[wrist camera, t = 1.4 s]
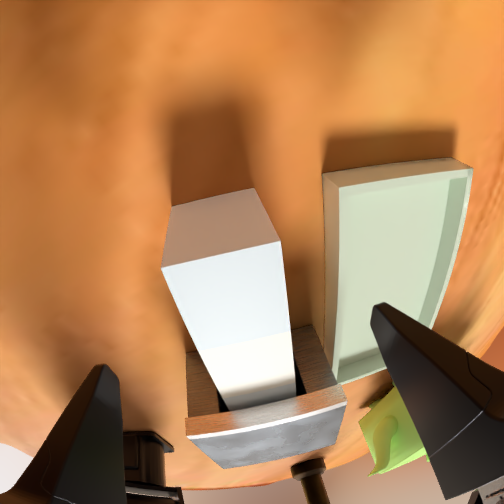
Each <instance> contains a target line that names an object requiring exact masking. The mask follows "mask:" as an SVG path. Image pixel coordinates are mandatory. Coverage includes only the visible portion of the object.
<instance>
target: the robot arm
mask: <svg viewBox="0 0 504 504" xmlns="http://www.w3.org/2000/svg"><path fill="white" fill-rule="evenodd" d="M370 326H371V329H372V332H373V334H374V337H375V339H376V342H377V345H378V347H379V350H380V352H381V355H382V358H383V360H384V363H385V365H386V367H387V370H388V372H389V374H390V376H391V378H392V380H393V382H394V384H395V386H396V388H397V390H398V392H399V394H400V396H401V398H402V400H403V402H404V404H405V406H406V408H407V410H408V412H409V415H410V417H411V419H412V421H413V423H414V425H415V428H416V430H417V432H418V434H419V437H420V439H421V441H422V443H423V446H424V448H425V450H426V453H427V455H428V457H429V460H430V462H431V465H432V467H433V470H434V472H435V475H436V477H437V479H438V482H439V485H440V487H441V490H442V492H443V495H444V498H445V500H448V499H451V498H454V497H456V496H459V495H461V494H464V493H467V492H469V491H472V490H474V489H476V488H478V489H476V490H475V491H474V492H472V494H471V497H470V499H469V502H468V504H504V372H503V371H501V370H499V369H497V368H495V367H493V366H491V365H489V364H487V363H486V362H484V361H482V360H480V359H479V358H477V357H475V356H474V355H472V354H471V353H469V352H466V350H464V349H462V348H461V347H459V346H458V345H456V344H454V343H453V342H451V341H449V340H448V339H446V338H445V337H443V336H441V335H440V334H438V333H436V332H435V331H433V330H431V329H430V328H428V327H426V326H425V325H423V324H421V323H420V322H418V321H416V320H415V319H413V318H411V317H410V316H408V315H406V314H405V313H403V312H401V311H400V310H398V309H396V308H395V307H393V306H391V305H390V304H388V303H386V302H382V303H379V304H375V305H374V306H373V308H372V314H371V319H370ZM169 452H174V448H173V447H171V446H170V445H169V444H168V443H166V442H165V441H164V440H163V439H161V438H160V437H159V436H158V435H157V434H155V433H153V432H140V433H123V421H122V409H121V399H120V385H119V380H118V377H117V376H116V375H115V373H114V372H113V371H112V370H111V369H110V367H109V366H108V365H106V364H98V365H95V366H94V367H93V369H92V370H91V372H90V373H89V374H88V376H87V377H86V379H85V380H84V382H83V383H82V384H81V386H80V387H79V389H78V390H77V392H76V393H75V395H74V396H73V398H72V399H71V401H70V402H69V404H68V405H67V407H66V408H65V410H64V411H63V413H62V414H61V416H60V418H59V419H58V421H57V422H56V424H55V425H54V427H53V428H52V430H51V432H50V433H49V435H48V436H47V438H46V440H45V441H44V443H43V444H42V446H41V448H40V449H39V451H38V452H37V454H36V456H35V457H34V458H33V460H32V461H31V463H30V464H29V466H28V467H27V468H26V470H25V471H24V473H23V474H22V475H21V477H20V478H19V479H18V481H17V482H16V484H15V485H14V486H13V487H12V488H11V489H10V490H8V491H7V492H5V493H2V494H0V504H184V500H183V495H182V490H181V487H166V479H165V459H164V453H169ZM126 492H131V493H126ZM132 493H138V494H132ZM139 494H145V495H139ZM147 495H154V496H147ZM157 496H165V497H157ZM168 497H169V498H168Z"/></svg>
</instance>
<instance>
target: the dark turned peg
mask: <svg viewBox="0 0 504 504" xmlns="http://www.w3.org/2000/svg"><path fill="white" fill-rule="evenodd" d="M325 470H326V466H325V463H324V460H323V459H313V460H309V461H306V462H303V463H300V464H297V465H295V466H293V467H292V468H291V473H292V476H293V478H294V479H296V480H298V481H301V483H302V486H303V490H304V493H305V497H306V500H307V503H308V504H330V502H329V499H328V496H327V492H326V489H325V487H324V483H323V480H322V477H321V474H323V473H324V471H325Z"/></svg>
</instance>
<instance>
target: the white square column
mask: <svg viewBox="0 0 504 504" xmlns="http://www.w3.org/2000/svg"><path fill="white" fill-rule="evenodd" d="M161 270H162V272H163V275H164V277H165V279H166V282H167V284H168V287H169V289H170V291H171V294H172V296H173V298H174V300H175V303H176V305H177V307H178V309H179V312H180V314H181V316H182V318H183V320H184V323H185V325H186V327H187V329H188V331H189V333H190V335H191V337H192V340H193V342H194V344H195V346H196V348H197V350H198V352H199V354H200V356H201V358H202V360H203V362H204V364H205V366H206V368H207V370H208V372H209V374H210V376H211V377H212V379H213V381H214V383H215V385H216V387H217V389H218V391H219V392H220V394H221V396H222V398H223V400H224V402H225V403H226V405H227V407H228V409H229V411H235V410H241V409H246V408H251V407H255V406H260V405H265V404H269V403H273V402H278V401H282V400H286V399H290V398H293V397H297V396H296V384H295V372H294V361H293V350H292V340H291V330H290V320H289V310H288V301H287V292H286V283H285V274H284V265H283V257H282V248H281V241H280V239H279V237H278V235H277V233H276V230H275V228H274V226H273V224H272V222H271V220H270V218H269V216H268V214H267V212H266V210H265V208H264V206H263V204H262V202H261V200H260V198H259V196H258V194H257V192H256V190H255V188H250V189H245V190H240V191H236V192H231V193H227V194H222V195H218V196H213V197H209V198H205V199H201V200H196V201H192V202H188V203H184V204H180V205H176V206H172V208H171V213H170V218H169V223H168V228H167V234H166V239H165V245H164V251H163V257H162V263H161Z"/></svg>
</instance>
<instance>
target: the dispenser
mask: <svg viewBox="0 0 504 504" xmlns="http://www.w3.org/2000/svg"><path fill="white" fill-rule="evenodd" d="M291 340H292V350H293V361H294V372H295V384H296V396H297V397H293V398H290V399H286V400H282V401H278V402H273V403H269V404H265V405H260V406H255V407H251V408H246V409H241V410H235V411H229V409H228V407H227V405H226V403H225V402H224V400H223V398H222V396H221V394H220V392H219V391H218V389H217V387H216V385H215V383H214V381H213V379H212V377H211V376H210V374H209V372H208V370H207V368H206V366H205V364H204V362H203V360H202V358H201V356H200V354H199V352H198V351H195V352H190V353H186V380H187V404H188V418H185V427H186V437H188V438H189V439H190V440H191V441H192V442H193V443H194V444H195V445H196V446H197V447H198V448H199V449H201V450H202V451H203V452H204V453H205V454H206V455H207V456H209V457H210V458H211V459H212V460H213V461H214V462H216V463H217V464H218V465H219V466H220V467H222V468H223V469H227V468H234V467H241V466H247V465H253V464H258V463H263V462H268V461H273V460H278V459H282V458H286V457H291V456H295V455H299V454H302V453H306V452H310V451H313V450H317V449H320V448H323V447H327V446H330V445H333V444H335V442H336V439H337V436H338V432H339V429H340V426H341V422H342V419H343V415H344V412H345V408H346V404H347V398H346V396H345V393H344V391H343V389H342V386H341V384H338V383H337V381H336V379H335V376H334V374H333V371H332V369H331V367H330V364H329V362H328V360H327V357H326V355H325V352H324V350H323V348H322V345H321V343H320V341H319V338H318V336H317V334H316V331H315V329H314V327H313V325H310V326H306V327H302V328H298V329H295V330H291Z"/></svg>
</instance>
